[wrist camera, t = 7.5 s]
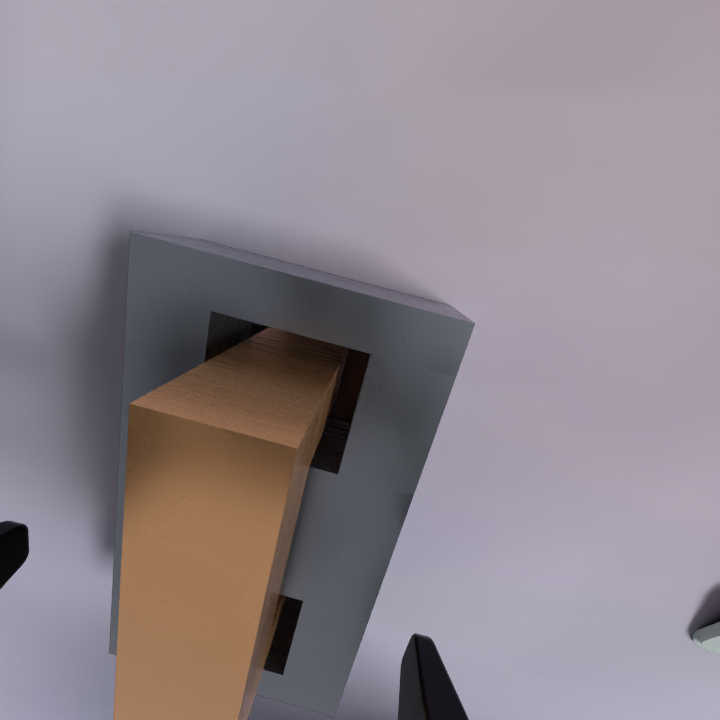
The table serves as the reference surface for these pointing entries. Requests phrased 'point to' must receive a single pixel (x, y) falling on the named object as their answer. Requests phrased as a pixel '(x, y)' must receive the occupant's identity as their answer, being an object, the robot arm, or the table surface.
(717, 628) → the metal bracket
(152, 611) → the clip
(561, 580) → the table surface
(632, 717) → the table surface
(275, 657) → the slotted plate
